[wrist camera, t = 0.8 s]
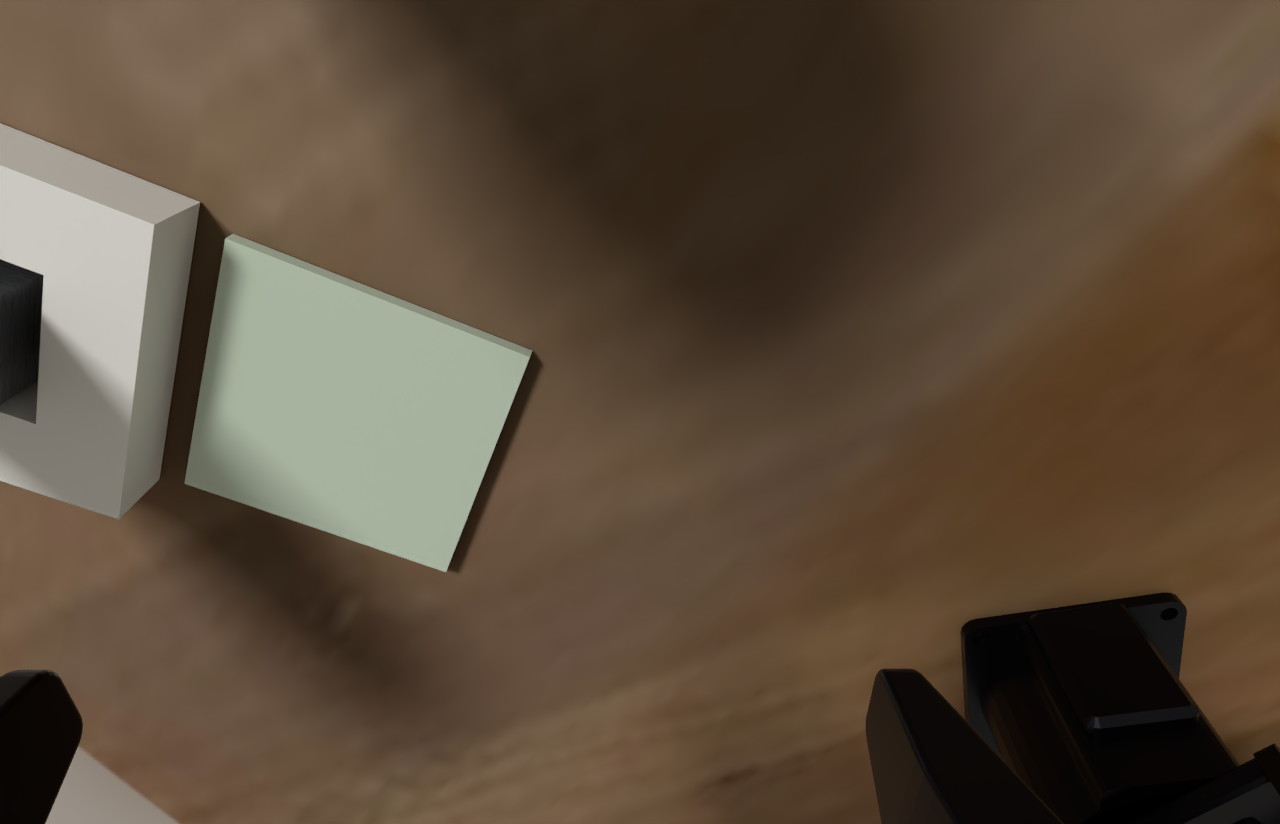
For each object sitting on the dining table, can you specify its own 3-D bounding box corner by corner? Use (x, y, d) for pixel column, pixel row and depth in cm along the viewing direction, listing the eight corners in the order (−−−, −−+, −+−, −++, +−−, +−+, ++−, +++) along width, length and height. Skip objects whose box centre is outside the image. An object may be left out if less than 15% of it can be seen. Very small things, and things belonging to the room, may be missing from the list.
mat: (532, 350, 21) (529, 357, 21) (449, 563, 25) (446, 572, 25) (233, 233, 20) (225, 238, 20) (191, 476, 24) (184, 483, 23)
